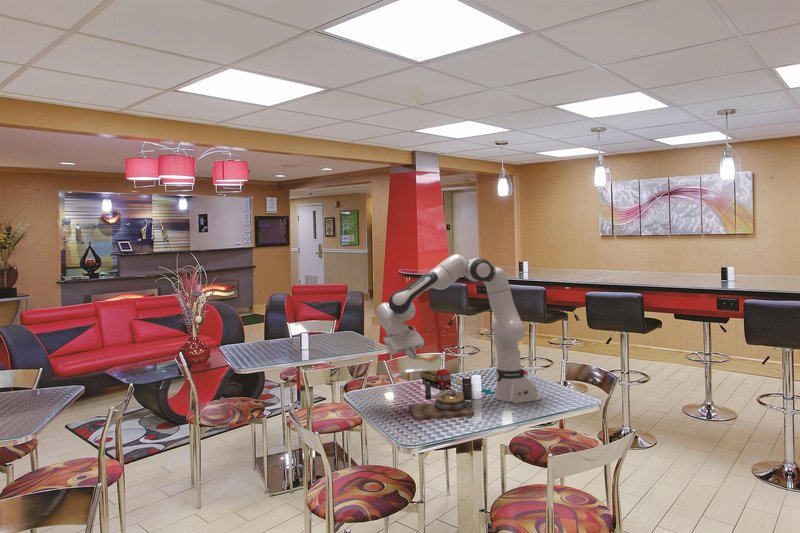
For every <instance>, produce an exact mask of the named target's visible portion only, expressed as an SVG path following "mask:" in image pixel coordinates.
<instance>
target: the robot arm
mask: <svg viewBox="0 0 800 533" xmlns="http://www.w3.org/2000/svg"><path fill="white" fill-rule="evenodd" d="M461 277H463V278H464V279H466V280H468V281H471V282H483V284H484V285H485V287H486V293H487V297H488V301H489V306H490V309H491V310H492V311H491V312H493V315H494V316H495V318H494V319H493V320H492V323H491V329H492V330H491V331H492V333H493V338H494V344H495V349H496V367H497V368H496V372H495V374H496V375H495V376H496V377H495V378H496V390H495V392H494V393H495V394H494V399H496V400H498V401H503V402H508V403H512V404H519V403H526V402H532V401H533V402H534V401H542V400H543V395H542V394H541V393H539V392H538V389H537V386H536V384H535V383H534V382H533V381H531V380H530V379H529V378H527V377H526V376H528V374H529V372H528V371H527V370H526V369H523V368H521V367H522V366H521V351H520V349H519V346H518V343H519V342H521V341H523V339H524V338H525V337H526V334H527V333H526V332H527V330H526V327H525V326H524V324H523V322H522V320H521V317H520V314H519V313H518V309H517V308H516V305H515V303H514V299H513V294H512V290H511V287H510V283H509V280H508V277H507V275H506V272H505V271H504V269H503V268H501V267H496V266H495V267H494V266H493V265H492V263H491V262H490V261H489V260H487V259H485V258H480V257H475V258H467V259H466V258H465V257H464V256H463V255H461V254H459V253H455V254H454V253H453V254H452V255H450V256H447V258H445V259H444V260H442V261H441V262H440V263H439V264H437V265H436V266H435V267H434V268H432V270H430V271H428V272H426V273H424V274H423V275H421V276H419V278H417V279H415V280H414V281H413V282H411V283H410V284H409V285H407V286H406V287H404V288H403V289H400V290H397V291H394V292H393V293H391V295H390V296H389V298H388V302H382V303H380V304H379V305H378V306H377V307H376V309H375V313H374V314H375V316H376V320H377V321H378V323H379V325H380V327H382V329H384V331H385V334H386V335H384V337H383V342H384V343H385V346H386V348H387V350H388V352H389V354H391V355H396V354H401V353H402V354H403V353H404V354H405V355H407V356H408V357H409V358H410V360H411V359H416V358H417V357H418V354H417V352H416V350H419V349H422V348H423V346H424V345H425V341H424V339H423V338H422V336H421V335H420V334H419V332H418V331H416V330H417V329H416V328H415V326H412V325H408V324H404V323H406V322H408V321H410V320H412V319H413V318H414V317H415V315H416V311H417V310H416V306H415V304H414V303H413V301H414V300H415V299H416V298H417V297H419V296H420V295H422V294H423V293H424V292H425V291H427V290H429V289H435V290H438V291H439V290H440V291H442V290H445V289H447V288H449V287H450V286H452V284H454V283H455V282H456V281H457V280H458V279H459V278H461Z"/></svg>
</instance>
